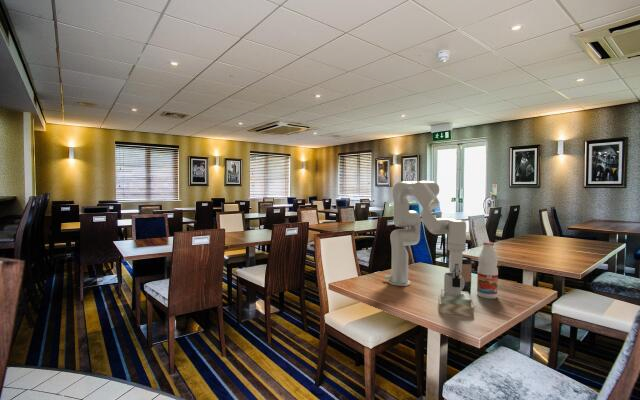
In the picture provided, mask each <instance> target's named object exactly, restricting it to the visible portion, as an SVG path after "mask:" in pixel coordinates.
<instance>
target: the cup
mask: <svg viewBox="0 0 640 400" xmlns="http://www.w3.org/2000/svg"><path fill="white" fill-rule="evenodd" d="M443 278H444V279H443V289H444V293H445V294H446V295H450V296H460V295H461V290H462V289H463V288H464V285H465V281H464V278H463V277H462V276H461V275H460V288H459V287H453V286H452V279H453V273H451V272H445V273H444V276H443Z"/></svg>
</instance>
